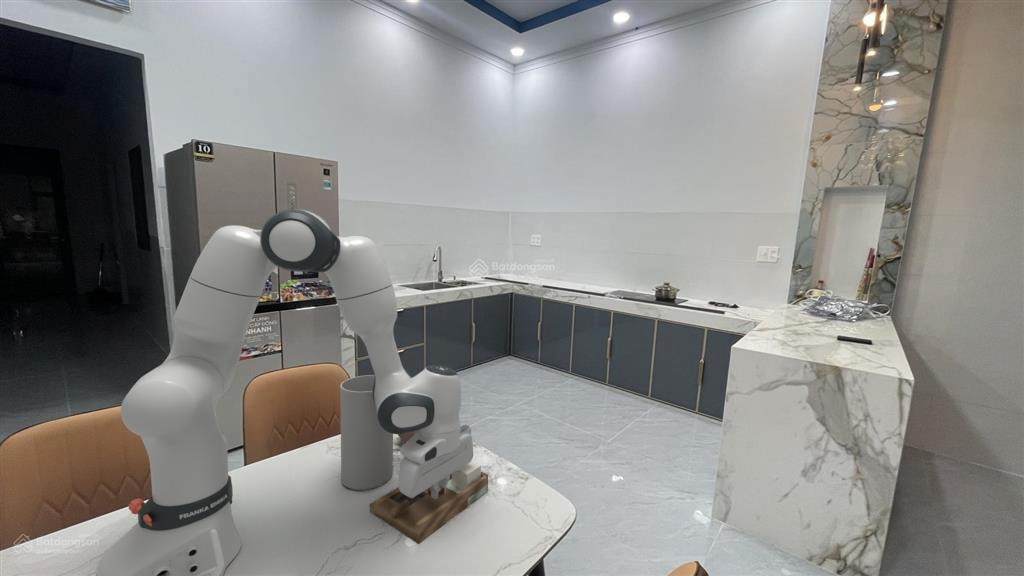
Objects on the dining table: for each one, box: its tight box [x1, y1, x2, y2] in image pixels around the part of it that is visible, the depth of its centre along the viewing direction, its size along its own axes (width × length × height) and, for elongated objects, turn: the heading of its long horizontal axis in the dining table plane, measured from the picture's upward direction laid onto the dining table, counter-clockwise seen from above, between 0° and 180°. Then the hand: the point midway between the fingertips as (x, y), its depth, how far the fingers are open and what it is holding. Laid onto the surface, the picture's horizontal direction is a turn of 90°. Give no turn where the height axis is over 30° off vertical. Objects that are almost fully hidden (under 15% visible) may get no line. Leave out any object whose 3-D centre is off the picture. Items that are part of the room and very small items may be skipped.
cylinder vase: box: [339, 374, 394, 491], centre depth 104 cm, size 12×12×25 cm
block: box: [452, 460, 482, 490], centre depth 100 cm, size 5×5×4 cm
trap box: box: [369, 471, 489, 545], centre depth 96 cm, size 23×16×4 cm
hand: (438, 495), depth 93 cm, fingers closed
